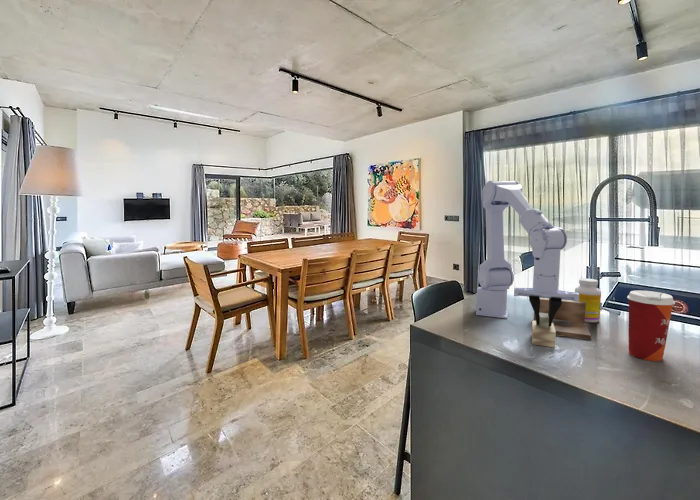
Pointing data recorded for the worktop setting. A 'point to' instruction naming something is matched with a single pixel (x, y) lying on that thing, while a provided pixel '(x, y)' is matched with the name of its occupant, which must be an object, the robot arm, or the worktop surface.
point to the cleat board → (573, 330)
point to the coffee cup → (649, 323)
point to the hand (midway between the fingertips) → (543, 324)
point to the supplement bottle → (590, 298)
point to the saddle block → (543, 332)
